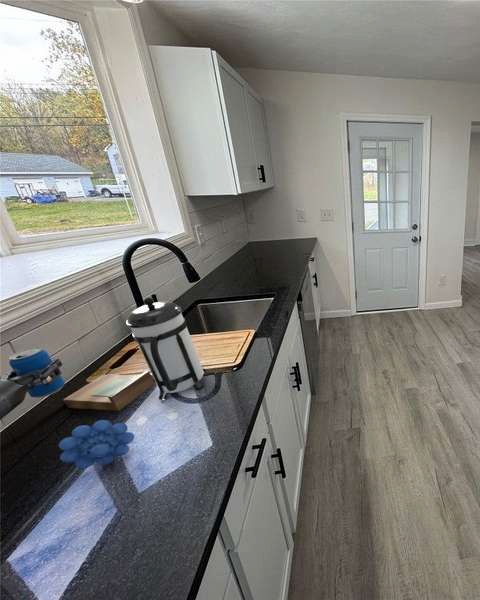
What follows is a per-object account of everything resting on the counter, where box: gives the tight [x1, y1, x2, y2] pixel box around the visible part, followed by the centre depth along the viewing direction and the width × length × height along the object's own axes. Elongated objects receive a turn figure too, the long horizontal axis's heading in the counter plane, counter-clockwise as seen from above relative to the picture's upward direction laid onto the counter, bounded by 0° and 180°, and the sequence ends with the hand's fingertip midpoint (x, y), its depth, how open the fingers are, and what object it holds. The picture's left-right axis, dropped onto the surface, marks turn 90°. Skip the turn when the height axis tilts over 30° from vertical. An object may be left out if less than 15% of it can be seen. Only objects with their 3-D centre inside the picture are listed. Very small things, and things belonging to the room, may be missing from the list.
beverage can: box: [8, 346, 66, 399], centre depth 81 cm, size 6×6×12 cm
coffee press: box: [125, 297, 206, 402], centre depth 91 cm, size 17×16×30 cm
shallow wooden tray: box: [62, 370, 156, 412], centre depth 95 cm, size 18×12×5 cm, turn 81°
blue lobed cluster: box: [58, 419, 135, 469], centre depth 70 cm, size 12×7×12 cm, turn 138°
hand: (42, 364), depth 82 cm, fingers closed on beverage can, 6 cm apart
